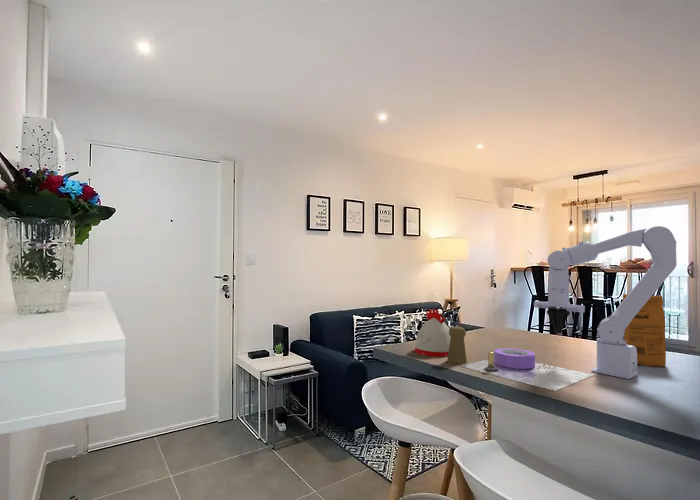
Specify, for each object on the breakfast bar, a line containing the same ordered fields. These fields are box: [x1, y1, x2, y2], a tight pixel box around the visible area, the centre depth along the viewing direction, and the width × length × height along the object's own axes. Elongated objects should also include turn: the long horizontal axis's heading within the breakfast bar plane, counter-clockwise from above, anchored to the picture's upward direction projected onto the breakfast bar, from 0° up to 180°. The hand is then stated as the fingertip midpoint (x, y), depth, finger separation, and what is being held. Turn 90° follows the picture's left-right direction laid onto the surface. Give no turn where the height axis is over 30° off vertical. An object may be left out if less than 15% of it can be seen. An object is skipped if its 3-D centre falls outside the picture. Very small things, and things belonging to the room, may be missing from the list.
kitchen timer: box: [414, 308, 451, 358], centre depth 138 cm, size 14×14×15 cm
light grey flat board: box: [459, 358, 594, 392], centre depth 115 cm, size 28×24×1 cm
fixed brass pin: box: [486, 351, 496, 371], centre depth 115 cm, size 3×3×5 cm
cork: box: [446, 326, 468, 365], centre depth 125 cm, size 6×6×11 cm
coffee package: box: [622, 293, 667, 368], centre depth 127 cm, size 10×12×22 cm
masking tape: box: [493, 347, 536, 369], centre depth 122 cm, size 12×12×4 cm
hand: (558, 333), depth 122 cm, fingers closed
